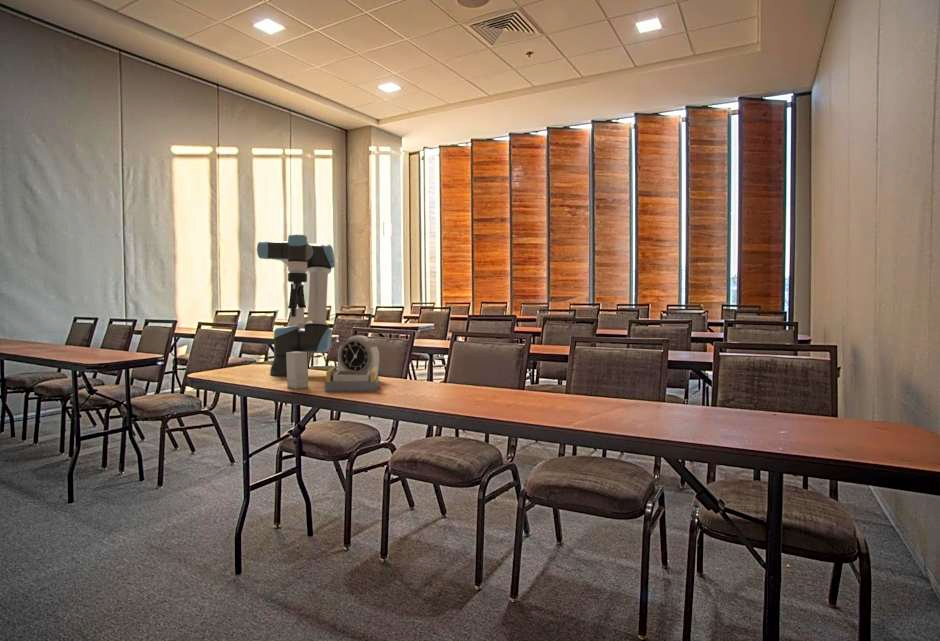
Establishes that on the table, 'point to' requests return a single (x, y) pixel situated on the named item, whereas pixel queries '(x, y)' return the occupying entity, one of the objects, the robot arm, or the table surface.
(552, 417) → the table surface
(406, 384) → the table surface
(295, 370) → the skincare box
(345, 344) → the alarm clock
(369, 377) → the grey display stand
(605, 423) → the table surface
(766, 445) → the table surface
